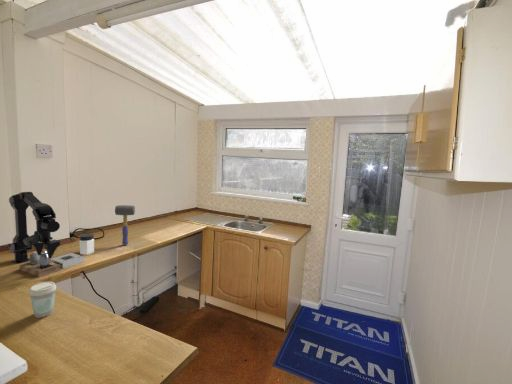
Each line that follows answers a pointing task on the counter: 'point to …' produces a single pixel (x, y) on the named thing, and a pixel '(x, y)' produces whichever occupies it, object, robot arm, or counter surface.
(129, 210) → the rubber mallet
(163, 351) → the counter surface
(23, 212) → the robot arm
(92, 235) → the jar
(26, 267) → the rack
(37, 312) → the coffee cup
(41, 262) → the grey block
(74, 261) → the socket
